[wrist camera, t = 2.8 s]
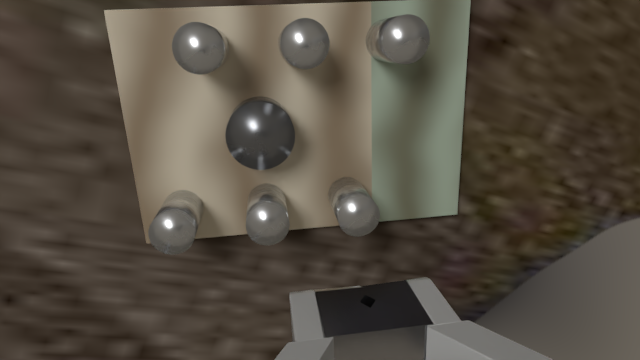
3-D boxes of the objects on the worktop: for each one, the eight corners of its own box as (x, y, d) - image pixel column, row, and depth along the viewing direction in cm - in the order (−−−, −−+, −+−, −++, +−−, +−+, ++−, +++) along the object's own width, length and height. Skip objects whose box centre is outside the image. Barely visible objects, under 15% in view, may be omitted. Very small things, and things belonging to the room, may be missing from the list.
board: (465, -1, 30) (470, -2, 29) (452, 210, 35) (457, 214, 34) (108, 11, 27) (104, 10, 26) (149, 238, 32) (146, 243, 31)
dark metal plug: (289, 94, 30) (293, 99, 27) (293, 156, 31) (297, 167, 28) (225, 98, 29) (221, 104, 26) (232, 160, 30) (229, 172, 28)
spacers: (405, 18, 29) (430, 13, 25) (401, 206, 33) (422, 230, 29) (133, 28, 27) (110, 24, 23) (166, 227, 31) (152, 256, 27)
